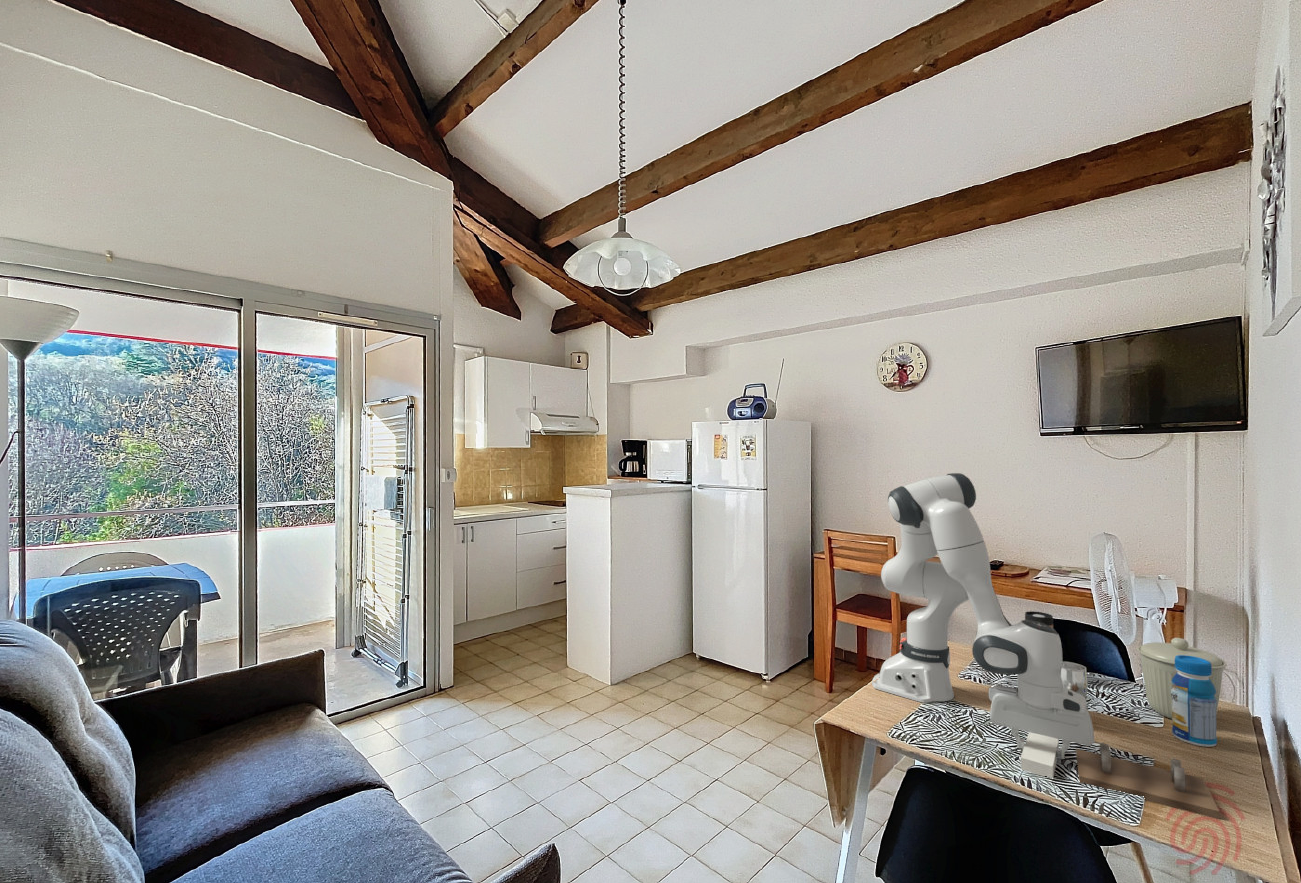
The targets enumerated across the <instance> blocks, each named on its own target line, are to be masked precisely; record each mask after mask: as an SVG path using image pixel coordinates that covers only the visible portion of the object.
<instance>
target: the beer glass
mask: <svg viewBox="0 0 1301 883" xmlns="http://www.w3.org/2000/svg"><path fill="white" fill-rule="evenodd" d="M1062 663H1063V664H1062V669H1061V679H1062V682H1063V687H1065V688H1067V689H1069V690H1072V691H1074V692H1076V693H1079V694H1081V695H1082V696H1084V698H1085V700H1086V701H1087V695H1088V688H1089V687H1088V686H1089V685H1088V684H1089V683H1088V674H1087V667H1086V666H1084V665H1082V664H1079V663H1075V662H1072V661H1071V662H1070V661H1062Z"/></svg>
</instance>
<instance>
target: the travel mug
mask: <svg viewBox="0 0 1301 883" xmlns="http://www.w3.org/2000/svg"><path fill="white" fill-rule="evenodd" d="M1024 620H1033V621H1037V622H1041V623H1044V624H1046V625H1048V626H1050V627H1052V628H1053V629H1054V616H1053V615H1052V614H1049V613H1045V612H1043V611H1035V610H1034V611H1031V610H1030V611H1025V613H1024Z"/></svg>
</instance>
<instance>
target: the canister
mask: <svg viewBox="0 0 1301 883" xmlns="http://www.w3.org/2000/svg"><path fill="white" fill-rule="evenodd" d="M1189 645H1190V644H1189V642H1188V641H1187V640H1186V639H1184V638H1181V637H1174V638H1172V639H1171V640H1170V642H1157V641H1156V642H1148V643H1144V644H1141V645H1139V646H1137V647H1136V651H1137V652H1138V653H1139V654H1140V655H1139V656H1140V663H1141V670H1142V676H1143V683H1144V689H1145V695H1146V700H1147V702H1148V704H1149V707H1150V708H1151V709H1152V710H1153V711H1154V710H1155V711H1154V712H1155V713H1157V712H1158V713H1157V714H1159V715H1161V716H1163V717H1166V718H1168V719H1170V720H1172V697H1171V690H1172V688H1173V685H1172V684H1171V681H1172V678H1173V677H1174V675H1175V674H1176V673H1177V672H1178V671H1177V670H1176V668H1175V657H1176V656H1178V655H1186V656H1193V657H1198V658H1202V659H1205V660H1207V661H1209V662H1210V663H1211V665H1212V674H1211V676H1210V677H1208V678H1209V679H1210V680H1211V682H1212V683H1213V685H1214V687H1215V689H1216V694H1215V695H1214V696H1215V698H1216V700H1217V706H1216V714H1217V713H1218V708H1219V702H1220V694H1221V686H1222V680H1223V671H1224V669H1225V668H1226V667H1227V662H1226V660H1224V659H1222V658H1220V657H1219V656H1217V655H1215V654H1214V653H1212V652H1209V651H1207V650H1203V649H1201V648H1198V647H1193V646H1189Z"/></svg>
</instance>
